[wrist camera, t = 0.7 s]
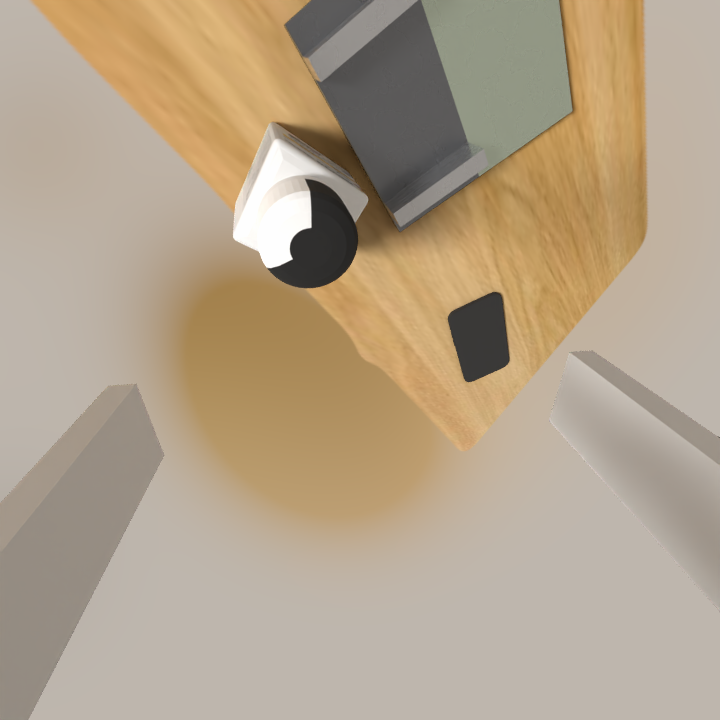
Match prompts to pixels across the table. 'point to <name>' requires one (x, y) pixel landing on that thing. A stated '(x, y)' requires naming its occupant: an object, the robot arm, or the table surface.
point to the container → (298, 211)
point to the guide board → (434, 87)
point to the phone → (480, 336)
